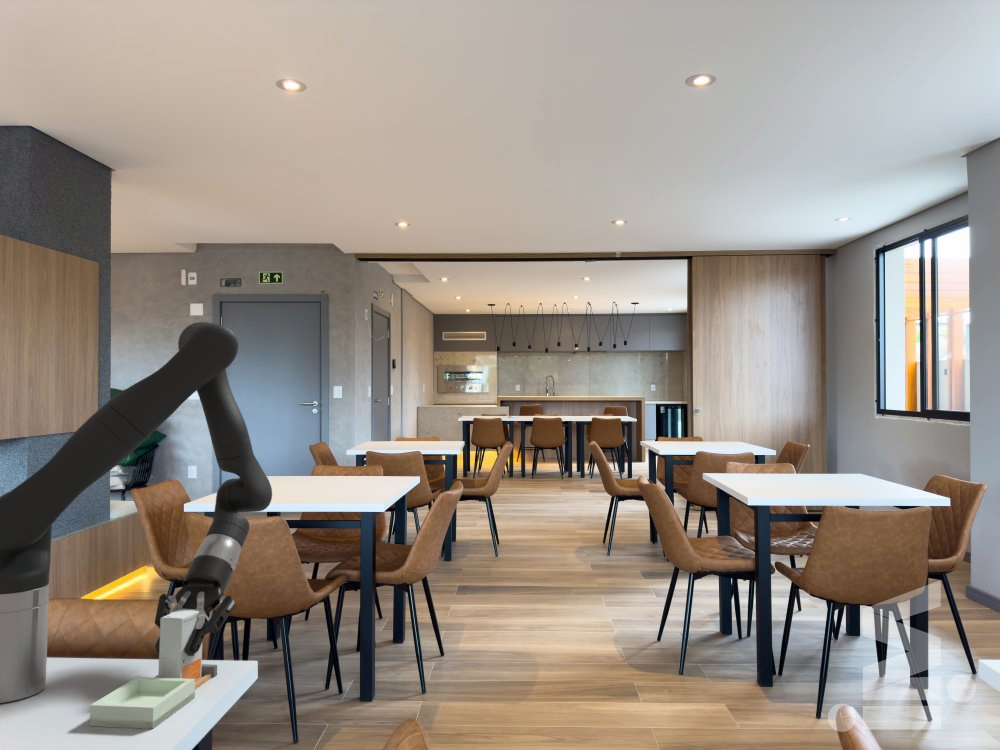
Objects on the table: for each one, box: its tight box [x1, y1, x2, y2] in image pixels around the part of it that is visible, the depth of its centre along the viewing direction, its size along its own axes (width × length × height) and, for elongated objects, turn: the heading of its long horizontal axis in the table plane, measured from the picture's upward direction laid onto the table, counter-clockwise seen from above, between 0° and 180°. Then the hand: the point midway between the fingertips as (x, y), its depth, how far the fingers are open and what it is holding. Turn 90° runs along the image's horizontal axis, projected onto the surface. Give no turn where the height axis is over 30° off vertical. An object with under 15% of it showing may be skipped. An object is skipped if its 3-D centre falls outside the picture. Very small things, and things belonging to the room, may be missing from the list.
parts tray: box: [89, 676, 196, 730], centre depth 106 cm, size 10×11×3 cm
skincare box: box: [157, 609, 203, 682], centre depth 117 cm, size 6×4×12 cm
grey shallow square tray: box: [155, 663, 218, 690], centre depth 116 cm, size 8×9×2 cm
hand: (174, 652), depth 115 cm, fingers closed on skincare box, 4 cm apart
